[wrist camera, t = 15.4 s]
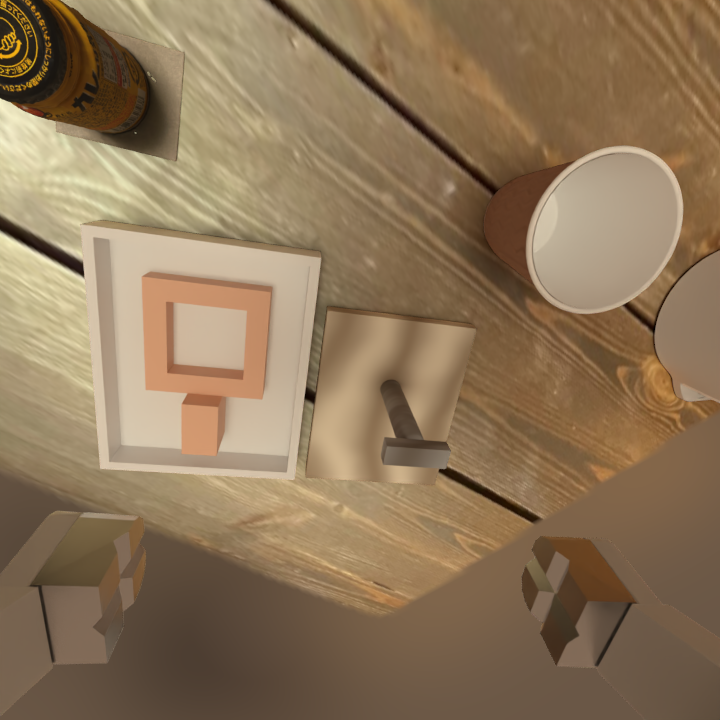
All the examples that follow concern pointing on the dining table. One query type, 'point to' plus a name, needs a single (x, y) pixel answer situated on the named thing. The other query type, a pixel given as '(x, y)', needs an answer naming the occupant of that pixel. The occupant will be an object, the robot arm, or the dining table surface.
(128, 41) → the condiment
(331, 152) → the dining table surface
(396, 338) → the board
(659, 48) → the dining table surface
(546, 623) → the robot arm
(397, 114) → the dining table surface
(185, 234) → the tray
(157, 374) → the square frame with stem
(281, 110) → the dining table surface
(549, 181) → the coffee cup
